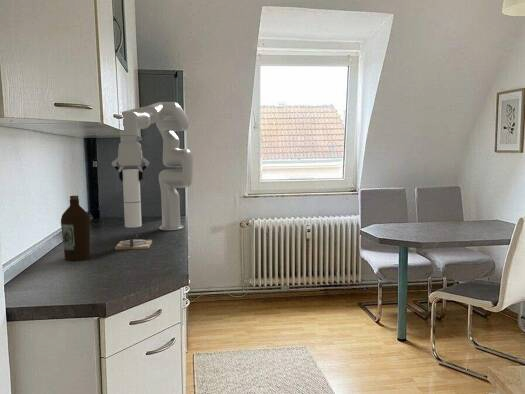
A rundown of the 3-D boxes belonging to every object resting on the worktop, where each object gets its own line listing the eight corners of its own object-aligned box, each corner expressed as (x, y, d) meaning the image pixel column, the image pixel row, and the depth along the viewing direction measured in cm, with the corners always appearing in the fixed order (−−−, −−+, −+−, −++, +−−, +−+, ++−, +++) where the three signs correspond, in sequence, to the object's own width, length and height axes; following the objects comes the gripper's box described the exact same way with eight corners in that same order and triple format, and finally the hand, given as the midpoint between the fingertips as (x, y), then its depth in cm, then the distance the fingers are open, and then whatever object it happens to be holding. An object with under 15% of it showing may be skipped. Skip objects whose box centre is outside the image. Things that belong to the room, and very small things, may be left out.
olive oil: (79, 253, 191) (76, 194, 189) (97, 256, 186) (94, 195, 183) (57, 259, 182) (53, 196, 179) (75, 262, 177) (71, 198, 174)
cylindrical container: (141, 224, 209) (138, 169, 206) (142, 226, 202) (139, 169, 200) (124, 225, 207) (122, 169, 204) (125, 227, 200) (122, 170, 198)
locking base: (121, 242, 212) (120, 234, 212) (152, 241, 214) (151, 233, 213) (114, 249, 198) (114, 240, 198) (148, 248, 200) (147, 239, 199)
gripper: (151, 140, 205) (152, 179, 207) (110, 140, 203) (112, 180, 205) (148, 139, 198) (150, 181, 200) (107, 140, 196) (109, 181, 198)
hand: (131, 180), depth 203 cm, fingers closed on cylindrical container, 7 cm apart
